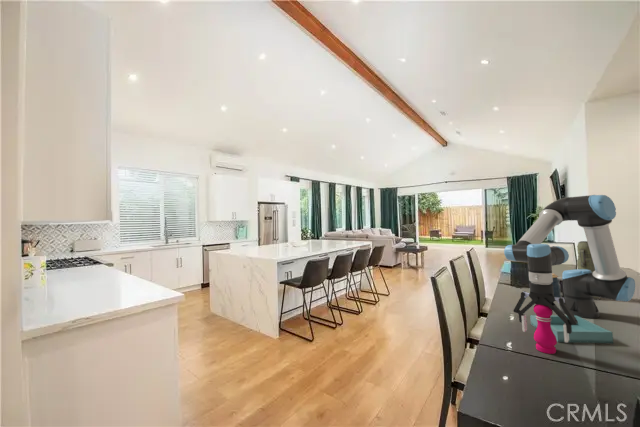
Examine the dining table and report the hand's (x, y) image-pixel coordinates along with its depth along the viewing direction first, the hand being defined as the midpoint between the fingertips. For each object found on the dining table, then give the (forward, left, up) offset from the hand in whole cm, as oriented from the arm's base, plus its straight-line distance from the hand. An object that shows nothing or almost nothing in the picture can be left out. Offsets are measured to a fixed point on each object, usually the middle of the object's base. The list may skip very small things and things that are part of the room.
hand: (544, 335), depth 111 cm
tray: (-19, -18, -6) cm, 27 cm away
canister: (-43, -75, -6) cm, 87 cm away
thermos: (-66, -75, -6) cm, 100 cm away
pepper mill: (0, 0, -6) cm, 6 cm away
